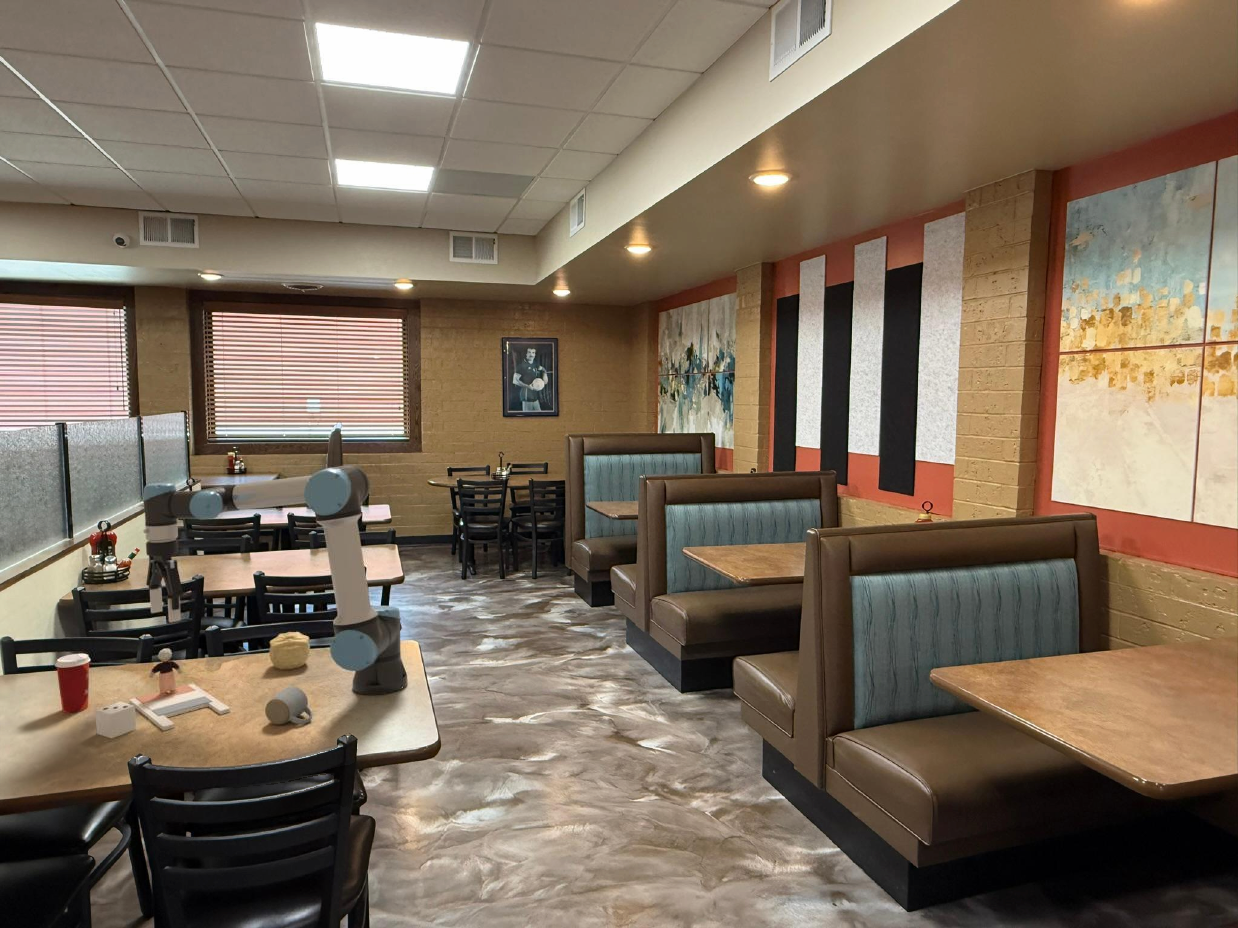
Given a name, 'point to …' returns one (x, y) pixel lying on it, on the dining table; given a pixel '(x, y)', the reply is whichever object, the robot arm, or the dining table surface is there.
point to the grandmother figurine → (166, 673)
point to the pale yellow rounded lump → (289, 650)
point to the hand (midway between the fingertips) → (165, 616)
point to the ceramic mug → (288, 707)
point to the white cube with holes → (115, 719)
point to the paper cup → (73, 682)
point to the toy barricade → (175, 704)
